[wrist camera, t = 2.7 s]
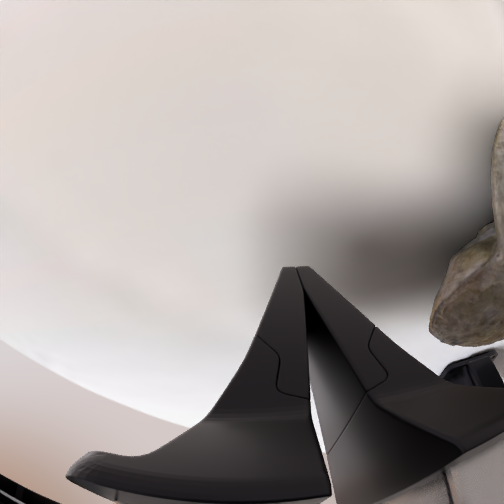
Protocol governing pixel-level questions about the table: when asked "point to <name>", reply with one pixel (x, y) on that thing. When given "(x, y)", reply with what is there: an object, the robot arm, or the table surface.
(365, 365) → the robot arm
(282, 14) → the table surface
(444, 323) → the fossilized seashell
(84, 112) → the table surface
